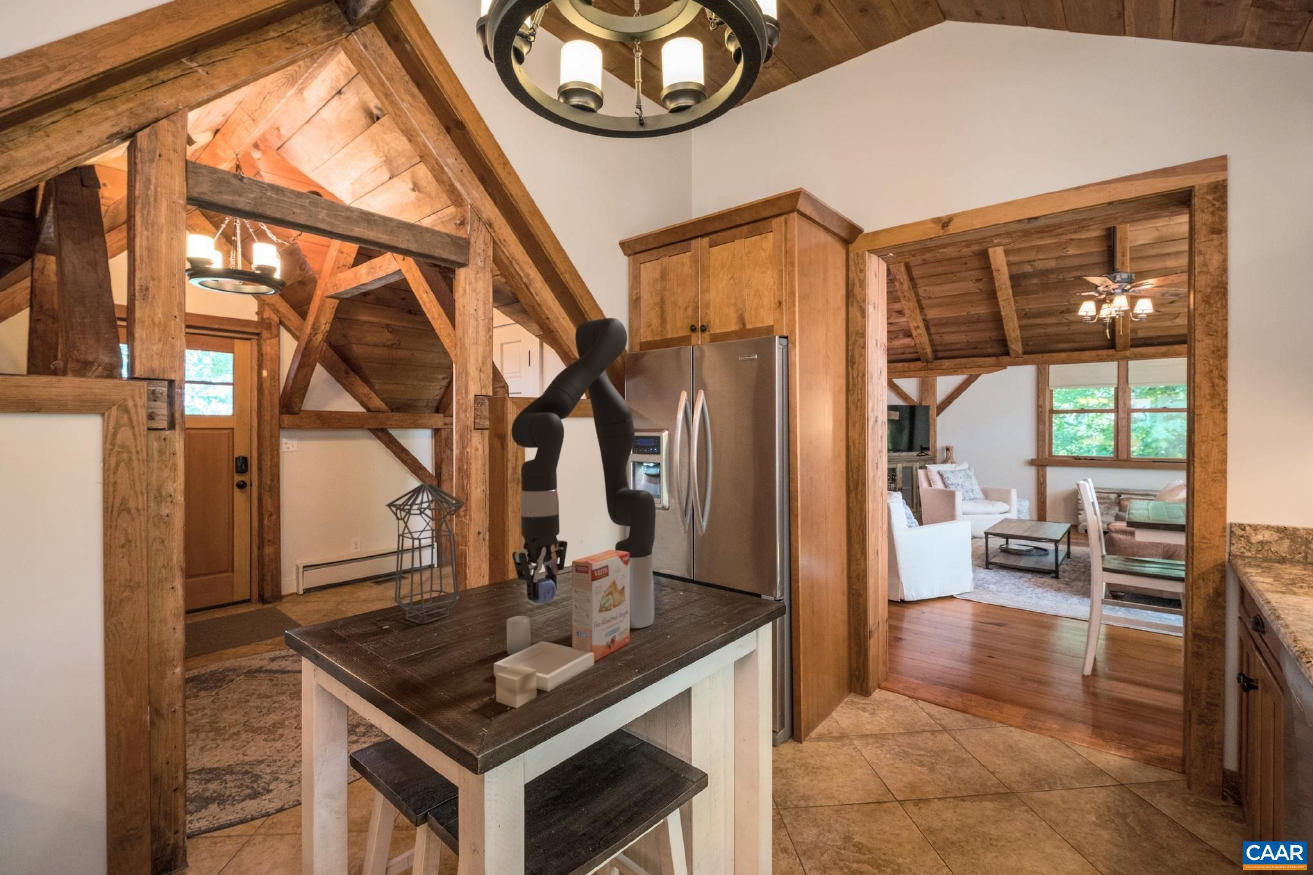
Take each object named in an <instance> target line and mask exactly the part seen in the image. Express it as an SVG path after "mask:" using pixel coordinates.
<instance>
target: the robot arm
mask: <svg viewBox="0 0 1313 875" xmlns="http://www.w3.org/2000/svg"><path fill="white" fill-rule="evenodd" d="M574 337H575V339H574V340H575V346H576V352H577V355H578V359H577V360H575V361H573V362H572V363H571V364H569V365H568V366H566V367H564V369H563V370H561V371H560V372H559V373H558V374H557V375H556V376H555V377H554V378H553V380H551V383H550V384H549V385H548V386H547V387H546V389H545V390H544V392H543V393H542V394H541V395H540V396H539V397H537V398H536V399H534V400H533V401H532V402H531V403H529V404H528V405H527V406H526V407H524V408H523V409H522V410H521V411H520V412H519V413H518V414H517V415H516V417H515V419H514V421H513V422H512V424H511V438H512V440H513V441H514V442H513V443H515V444H516V445H517V446H519V447H522V448H524V449H526V448H527V449H535V448H536V452H535V456H534V458H533V459H530V460H529V459H528V460H526V461H524V462H523V463H522V464H521V466H520V467H521V469H520V477H521V482H520V484H521V494H520V524H521V525H520V527H521V529H520V530H521V531H520V532H521V537H523V538H524V539H523V540H524V543H523V547H522V548H521V549H520V550H519V551H513V552H512V561H513V564H514V569H515V571H516V575H517V576H516V577H517V580H519V581H524V582H525V583H526V584H525V585H526V597H527V599H528V600H529V601H531V600H532V601H536V600H538V599H539V595H538V582H537V580H538V579H539V575H540V571H541V570H543V568H544V571H545V575H544V576H545V578H546V579H551V580H552V581H553V582H554V584H555V587H556V590H557V588H558V585H557V584H558V583H557V582H558V580H557V576H558V574H559V572H560V571H564V568H565V561H566V556H567V552H568V550H567V549H568V541H567V540H559V539H558V537H557V536H559V534H560V532H561V530H560V506H559V505H560V502H559V501H560V500H559V495H558V480H557V479H558V478H557V477H558V474H557V472H558V471H557V469H558V464H559V461H560V457H561V451H562V447H563V443H564V438H565V427H564V424H563V422H562V421H563V420H564V419H567V417H569V416H570V415H571V414H572V412H573V411H574V409H575V408H576V406H577V404H578V403H579V402H580V401H581V399H582V398H583V396H584V394H585V393H586V392H587V391H588V396H589V399H590V404H591V410H592V415H593V423H594V429H595V432H596V438H597V441H598V442H597V443H598V446H599V451H600V457H601V463H602V464H601V465H602V470H603V476H604V486H605V487H604V489H605V500H606V508H607V513H608V516H609V518H610V520H611V522H613V524H614V525H617V526H623V527H629V530H628V531H629V533H628V537H627V538H625V539H621V540H619V541H617V542H616V543H615V546H614V550H616V551H625V552H629V553H630V629H642V628H646V627H649V626H652V625H653V624H654V621H655V582H654V581H653V580H654V577H653V547H654V543H655V539H656V538H655V537H656V536H655V535H656V515H657V514H656V511H657V510H656V501H655V498H654V496H653V495H652V493H651V492H650V491H647V490H643V489H630V487H629V483H628V475H627V466H628V461H629V459H630V455H631V453H632V451H633V447H634V444H635V441H636V433H635V432H636V431H635V426H634V421H633V420H634V419H633V414H632V411H631V408H630V406H629V405H628V403H627V401H626V400H625V399H624V397H622V395H621V394H620V393H619V391H618V390H617V389H616V388H615V386H614V384H613V383H612V382H611V379H610V378H609V377H608V373H607V369H608V368H609V367H610V366H611V365H612V364H613V363H614V362H615V361H616V360H617V359H618V358H619V357H620V356H621V355H622V354H623V353H624V351H625V349H626V347H627V343H628V334H627V330H626V327H625V326H624V324H623V323H622V321H621V320H620V319H617V318H614V317H607V318H600V319H599V318H598V319H595V320H594V319H592V320H587V321H583V322H581V323H580V324H578V326H577V327H576V330H575V334H574ZM558 560H559V561H558ZM533 564H534V565H533ZM532 601H531V602H532Z"/></svg>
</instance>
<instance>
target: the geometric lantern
mask: <svg viewBox="0 0 1313 875" xmlns="http://www.w3.org/2000/svg"><path fill="white" fill-rule="evenodd" d="M425 494H426V500H425V501H424V496H425ZM420 496H421V498H420ZM430 497H431V498H432V499H430ZM404 498H406V499H404ZM419 498H420V501H419V503H418V502H417V501H418V500H419ZM448 498H449V499H448ZM402 499H404V501H403V502H401V503H397V502H398V501H401V500H402ZM451 500H453V502H452V501H451ZM434 502H436V503H437V505H438V506H439V507H432V504H433V503H434ZM423 504H428V505H426V506H423ZM445 505H447V506H445ZM465 505H467V502H466V501H464V500H461V499H459V498H458V497H456V496H454V495H452V494H450V493H448V492H447V491H445V490H443V489H441V488H440V487H438V486H436V485H434V484H432V483H427V482H426V483H421V484H419V485H417V486H416V487H414V488H413V489H411V490H409V491H407V492H406V493H404V494H401V496H399V497H397V498H395V499H394V500H391V502H388V503H387V504H385V507H387V508H388V509H389V510H390V512H391V513H392V514H393V516H395V519H396V521H397V548H396V566H395V567H396V568H395V570H396V571H395V588H394V602H395V603H396V604H398V605H399V606H400V607H401V608H402V609H403V610H405V619H406V620H408V621H411V622H414V623H417V624H419V625H422V624H426V623H430V622H434V621H436V620H440V619H443V618H445V617H449V616H450V614H449V612H450V610H449V609H450V607H452V606H453V605H454V604H455V603H456V602H458V600H459V597H460V593H459V591H460V590H459V581H458V580H459V579H458V565H457V564H458V563H457V548H456V532H455V531H453V526H452V516H456V513H457V512H458V511H459V510H460V509H461V508H462V507H463V506H465ZM414 506H418V507H417V508H414ZM406 507H407V508H406ZM393 508H395V510H394V509H393ZM452 508H453V509H452ZM427 510H428V511H430V512H431V516H430V515H429V514H427V513H426V511H427ZM441 510H442V512H441V513H442V516H440V517H437V518H435V516H434V511H441ZM398 511H399V514H398ZM412 511H418V513H416V512H415V513H413V512H412ZM402 512H403V513H405V514H404V515H402ZM445 512H446V513H445ZM398 515H399V516H398ZM423 515H424V516H425V517H427V518H428V519H429V520H428V521H427V520H426V518H425V517H424V516H423ZM411 516H420V517H421V518H422V519H423V521H424V522H425V523H426V525H425V526H424V528H423V529H422V530H415V531H412V530H411V529H410V527H409V525H408V523H409V520H410V518H411ZM448 516H449V520H450V521H449V522H450V526H449V524H448V522H447V518H448ZM405 519H406V520H405ZM439 520H442V521H441V523H440V525H439V527H438V528H436V529H435V528H432V526H431V525H430V522H431V521H432V522H434V521H439ZM400 521H402V523H403V525H404V526H403V529H402V532H401V533H400ZM444 524H445V526H446V529H447V530H445V529H441V528H442V526H443V525H444ZM427 527H429V529H426V528H427ZM406 530H407V531H408V532H406ZM424 532H431V536H427V537H421V535H422V534H423V533H424ZM435 532H437V535H435ZM441 532H444V533H448V534H442V535H441ZM417 533H419V534H418V536H417V537H414V534H417ZM407 534H409V536H406V535H407ZM443 537H448V538H449V539H448V540H449V549H450V552H449V553H450V560H451V561H450V562H451V573H452V574H451V575H452V585H453V593H451V592H448V591H445V590H444V589H443V573H442V571H443V570H442V552H441V551H442V550H441V549H442V548H441V538H443ZM434 538H435V539H436V538H437V546H438V547H437V548H438V567H439V568H438V569H439V585H440V590H438V589H433V581H434V580H433V579H434V545H435V544H434V542H435V541H434ZM405 539H408V540H409V539H410V540H411V560H410V561H411V566H410V594H409V595H404V596H401V590H402V589H401V587H402V575H403V561H404V560H403V558H404V544H405V543H404V542H405ZM427 539H431V545H430V546H431V551H430V552H431V553H430V556H431V557H430V589H429V590H426V591H424V587H423V584H424V583H423V564H422V562H423V560H422V559H423V558H422V540H427ZM415 541H418V559H419V560H418V561H419V585H420V586H419V587H420V592H418V593H417V592H416V593H414V568H415V566H414V565H415V562H414V560H415ZM400 543H401V544H400ZM399 563H400V564H399ZM433 593H438V595H437V596H436V598H435V600H433V601H432V594H433ZM424 594H425V595H426V594H429V602H424ZM441 594H445V595H448V596H452V597H454V599H450V600H445V601H439V602H437V600H438V598H439V597H440V595H441ZM417 596H420V604H418V605H414V606H413V599H414V598H413V597H417ZM407 598H409V599H410V600H409V601H410V603H409V605H408V604H406V603H403V602H404V601H402V600H404V599H407ZM448 603H450V604H448ZM445 604H448V605H445ZM435 606H441V607H444V608H440V609H437V608H435ZM431 607H432V608H431ZM425 608H428V609H425ZM420 609H422V610H421V611H417V610H420ZM438 612H440V613H443V614H444V615H442V616H439V617H435V618H432V619H430V620H427V615H429V614H433V613H438ZM409 613H411V614H409ZM416 615H417V616H419V620H415V619H412V618H409V617H411V616H412V617H413V616H416ZM422 616H423V618H424V620H423V621H422Z"/></svg>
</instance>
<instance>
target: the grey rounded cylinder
mask: <svg viewBox="0 0 1313 875" xmlns="http://www.w3.org/2000/svg"><path fill="white" fill-rule="evenodd" d="M531 644H532V642H531V618H530V617H529V616H526V615H517V616H512V617H509V618H507V619H506V645H507V646H506V654H508V655H509V656H511V655H513V654H515V653H517V652H520V651H522V650H524V649H526V648H528V647H530V646H532V645H531Z"/></svg>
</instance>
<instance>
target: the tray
mask: <svg viewBox="0 0 1313 875" xmlns="http://www.w3.org/2000/svg"><path fill="white" fill-rule="evenodd" d="M516 664H517V665H521V666H524V667H528V668H532V669H535V670H536V688H537V689H538V690H541V691H544V692H550V691H551V690H554V689H555V688H557V687H558V686H560V685H562V684H564V683H565V682H567V681H569V680H571V679H573V678H574V677H576V676H578V675H579V674H581V673H583V672H585V671H586V670H588V669H590V668H591V667H593V666H595V662H594V653H592V652H588V651H584V650H579V649H575V648H572V646H571V647H570V646H566V645H561V644H557V643H553V642H549V641H543V640H542V641H539V642H537V643H535V644H533V645H531V646H530V647H528V648H526V649H524V650H522V651H520V652H517V653H515V654H513V655H509V656H507V657H505V658H502V659H501V660H498V661H496V662H494V663H493V677H496V674H497V673H499V672H501V671H503V670H505V669H507V668H509V667H512V666H514V665H516Z"/></svg>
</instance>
